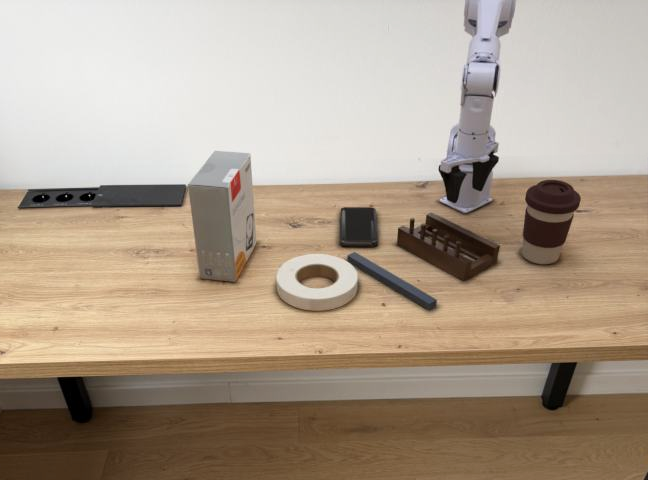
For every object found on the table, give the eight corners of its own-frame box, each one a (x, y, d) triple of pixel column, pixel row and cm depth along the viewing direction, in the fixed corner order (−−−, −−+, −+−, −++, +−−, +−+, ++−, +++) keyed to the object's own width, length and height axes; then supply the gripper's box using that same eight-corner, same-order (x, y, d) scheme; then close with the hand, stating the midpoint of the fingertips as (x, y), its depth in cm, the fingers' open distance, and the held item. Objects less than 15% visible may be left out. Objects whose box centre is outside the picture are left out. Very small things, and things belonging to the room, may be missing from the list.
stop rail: (354, 258, 138) (354, 251, 137) (436, 306, 125) (437, 299, 124) (347, 261, 137) (347, 255, 136) (428, 310, 124) (429, 303, 123)
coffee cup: (508, 261, 136) (521, 192, 126) (521, 238, 143) (535, 171, 133) (559, 273, 132) (576, 203, 123) (570, 249, 139) (587, 181, 129)
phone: (339, 241, 140) (340, 206, 152) (339, 246, 141) (340, 211, 153) (378, 242, 140) (376, 207, 151) (377, 247, 141) (376, 211, 152)
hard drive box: (236, 283, 131) (226, 188, 119) (198, 279, 132) (184, 184, 120) (258, 242, 143) (250, 151, 130) (223, 239, 144) (212, 149, 132)
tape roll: (363, 270, 134) (364, 257, 132) (349, 316, 123) (349, 303, 121) (287, 261, 137) (286, 249, 135) (266, 306, 125) (265, 293, 124)
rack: (429, 228, 146) (432, 199, 142) (497, 262, 136) (502, 231, 131) (396, 244, 141) (398, 214, 137) (463, 281, 131) (468, 249, 126)
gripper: (463, 146, 122) (455, 214, 131) (515, 125, 129) (503, 191, 138) (434, 134, 127) (428, 200, 135) (486, 115, 134) (476, 179, 142)
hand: (464, 195), depth 137 cm, fingers open, 7 cm apart
